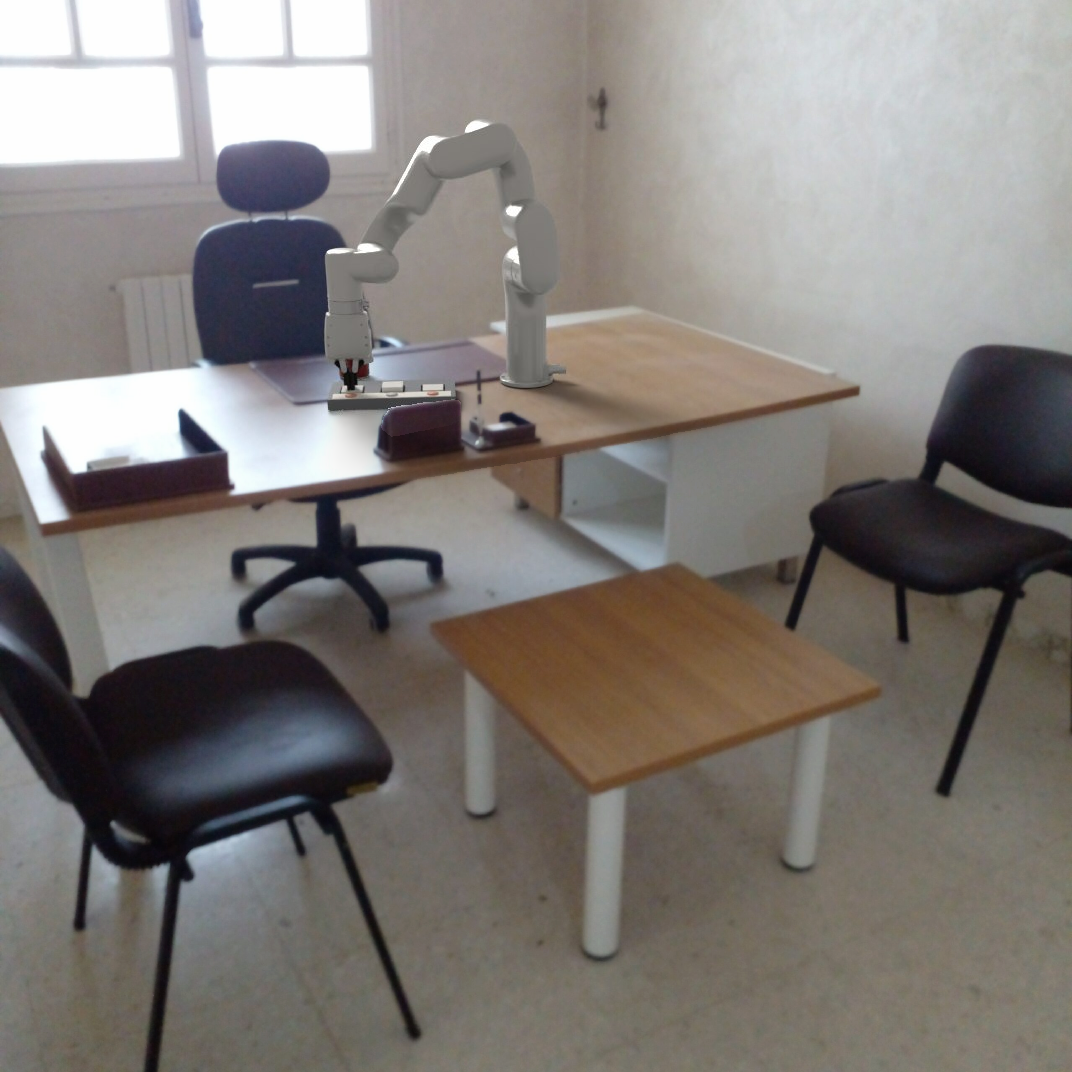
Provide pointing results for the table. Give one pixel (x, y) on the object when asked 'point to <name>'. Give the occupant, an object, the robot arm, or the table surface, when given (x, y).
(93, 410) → the table surface
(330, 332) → the robot arm
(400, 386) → the middle button
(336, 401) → the button board
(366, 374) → the soda can
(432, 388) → the button
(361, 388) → the button
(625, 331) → the table surface
